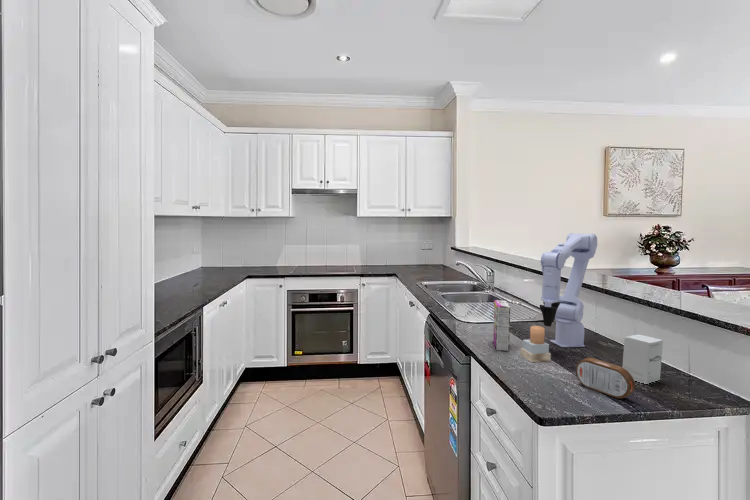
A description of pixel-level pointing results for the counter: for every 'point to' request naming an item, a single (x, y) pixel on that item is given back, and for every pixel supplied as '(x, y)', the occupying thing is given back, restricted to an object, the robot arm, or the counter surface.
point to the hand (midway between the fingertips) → (549, 323)
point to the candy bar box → (501, 325)
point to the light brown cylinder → (537, 334)
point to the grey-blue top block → (535, 347)
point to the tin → (605, 377)
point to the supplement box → (643, 358)
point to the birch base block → (535, 356)
